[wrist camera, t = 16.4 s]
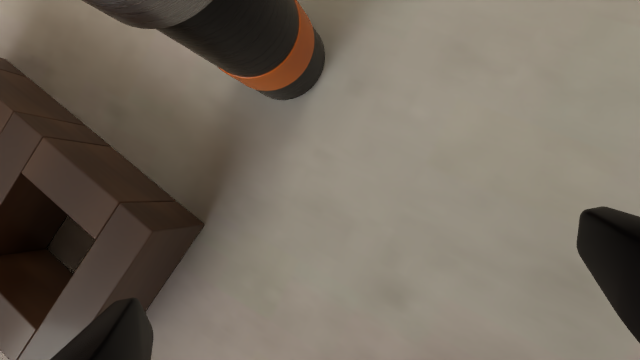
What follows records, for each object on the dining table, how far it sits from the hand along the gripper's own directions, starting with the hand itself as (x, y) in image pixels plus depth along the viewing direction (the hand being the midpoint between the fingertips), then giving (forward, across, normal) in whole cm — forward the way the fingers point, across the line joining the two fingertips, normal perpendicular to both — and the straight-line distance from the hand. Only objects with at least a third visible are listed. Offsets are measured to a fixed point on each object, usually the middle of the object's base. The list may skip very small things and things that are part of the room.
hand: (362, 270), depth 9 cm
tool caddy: (+13, +14, +3) cm, 19 cm away
